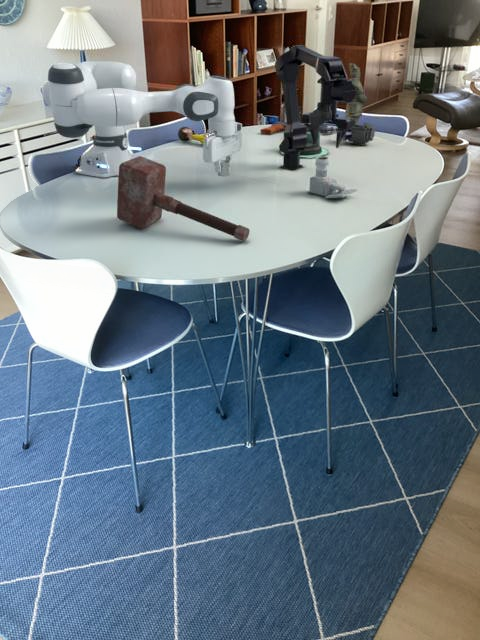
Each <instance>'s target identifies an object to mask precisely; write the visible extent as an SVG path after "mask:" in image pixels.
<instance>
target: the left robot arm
mask: <svg viewBox="0 0 480 640" xmlns="http://www.w3.org/2000/svg"><path fill="white" fill-rule="evenodd" d="M137 77H138V76H137V73H136V71H135V69H134V68H133V67H132V66H131V64H128V63H124V62H120V61H94V60H93V61H92V60H91V61H89V60H85V61H82V62H77V63H74V64H72V63H69V62H58V63H56V64H53V65H51V66H50V67H49V69H48V73H47V80H45V82H44V83H43V84H42V87H41V96H42V99H43V101H44V102H45V104H46V105H47V106H49V108H51V113H52V117H53V120H54V121H53V125H54V127H55V130H56V132H57V134H59V135H60V136H61V137H63V138H68V139H77V138H82V137H84V136H85V135H86V134H88V132H89V131H90V130H91V129H92V128H93V126H94V133H95V134H93V135H92V136H90V137H89V141H92V145H91V146H90V147H88V148H87V149H86V150H85V151H84V152H83V153H82V154H81V155H79V158H78V159H77V163H75V167H77V168H76V169H75V174H79V175H85V176H90V177H97V178H111V177H116V176H118V177H119V166H120V164H121V163H123V162H126V161H128V160H131V156H130V152H129V150H135V151H142V147H134V146H129V142H128V135H127V132H126V126H131V125H134V124H137V123H138V122H140V120H142V118H143V116H145V115H148V114H150V113H162V112H163V113H164V112H173V113H177V114H180V115H182V116H184V117H185V118H186V119H188V120H190V121H193V122H201V121H205V120H208V121H207V122H208V123H207V124H208V130H209V133H207V134H206V135H205V136H206V138H205V140H204V144H203V146H202V160H203V162H204V163H207V164H213V165H214V167H215V172H216V173H218V172H219V173H220V172H222V166H221V165H220V162H221V160H228V161H229V169H230V168H231V162H232V159H233V154H236V153H237V152H240V151H241V149H242V141H243V140H242V138H243V137H242V131H243V124H242V123H240V122H237V121H236V117H235V111H234V110H235V104H236V103H235V102H236V101H235V89H234V85H233V82H232V80H231V79H230V78H228V77H225V76H220V75H210V76H208V78H206V80H204V81H203V82H202V83H201V84H199V85H197V86H195V85H194V84H192V83H183V84H181V85H179V86H176V87H175V88H173V89H170V90H160V91H159V90H158V91H157V90H156V91H141V90H135V89H136V87H137V83H138V80H137V79H138V78H137Z"/></svg>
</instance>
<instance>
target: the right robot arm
mask: <svg viewBox="0 0 480 640" xmlns="http://www.w3.org/2000/svg"><path fill="white" fill-rule="evenodd" d="M303 64H305V65H308V66H310V67H311V68H314V69H315V72H316V74H318V75H319V76H320V78H319V79H318V80H317V81H316V82H317V84H320V96H319V101H318V102H317V105H316V106H317V107H316V108H315V109H313V110H312V111H311V112H307V113H303V114H302V115H301V117H300V109H299V100H298V91H297V79H298V77H299V74H300V68H301V66H302V65H303ZM274 69H275V74H276V77H277V79H278V81H280V83H281V86H282V94H283V101H284V103H283V104H284V110H285V119H286V121H285V122H287V126H286V129H285V131H284V130H283V139H282V141H281V142H280V144H278V149H279V153H281V152H283V153H284V154H283V159H282V160H283V161H282V162H283V163H282V165H280V166H279V167H280V168H281V169H287V170H291V171H295V170H297V169H300V168H304V165H303V164H301V157H300V151H304V150H305V146H306V143H307V138H308V137H307V129H306V127H303V126H302V125H301V123H305V124H304V125H305V126H307V127H308V128H309V130H310V133H311V136H312V139H313V143H314V144H317V140H318V132H319V126H320V125H324V124H330V125H335V126H336V128H334V131H335V132H336V138H335V148H336V149H339V147H340V146H341V144H342V142H343V138H344V136H345V134H346V133H347V131H348V129H351V127H354V126H355V120H354V118H350V117H346V116H343V117H340V118H339V113H337V111H338V106H339V105H340V102H342V103H346V104H347V103H350V102H351V101H353V99H354V98H355V95H356V89H355V86H354V85H353V84H352V80H350V79H349V77H348V73H347V72H346V71H347V70H346V69H345V66H344V64H343V59H342V58H341V57H339V56H330V55H323V54H321V53H319V52H318V51H315V50H313V49H311V48H309V47H307V46H306V45H302V44H300V45H299V44H298V45H293V46H291V47H290V49H288V50H287V51H286V52H283V53H282V54H281V55H280V56H278V57H277V58H276V60H275V62H274Z"/></svg>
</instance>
